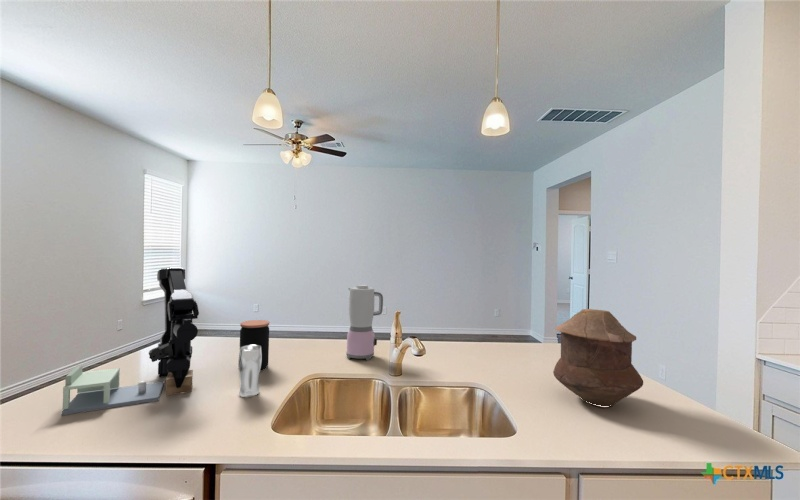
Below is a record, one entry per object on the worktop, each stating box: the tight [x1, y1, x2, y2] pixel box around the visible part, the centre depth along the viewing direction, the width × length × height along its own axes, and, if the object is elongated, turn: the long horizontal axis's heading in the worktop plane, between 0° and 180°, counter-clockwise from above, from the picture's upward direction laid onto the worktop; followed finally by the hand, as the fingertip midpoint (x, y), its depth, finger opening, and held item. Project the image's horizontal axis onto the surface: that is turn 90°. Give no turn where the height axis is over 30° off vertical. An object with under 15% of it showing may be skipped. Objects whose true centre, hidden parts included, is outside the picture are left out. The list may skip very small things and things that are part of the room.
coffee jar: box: [239, 319, 270, 372], centre depth 137 cm, size 11×11×18 cm
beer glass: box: [237, 345, 262, 398], centre depth 113 cm, size 7×7×15 cm
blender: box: [345, 284, 384, 362], centre depth 155 cm, size 16×12×32 cm
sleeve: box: [165, 369, 194, 396], centre depth 115 cm, size 7×7×5 cm
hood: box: [62, 364, 121, 410], centre depth 104 cm, size 10×13×9 cm
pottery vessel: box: [552, 308, 644, 406], centre depth 115 cm, size 26×26×30 cm
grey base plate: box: [61, 380, 165, 416], centre depth 107 cm, size 22×14×4 cm, turn 119°
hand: (179, 382), depth 115 cm, fingers open, 9 cm apart
